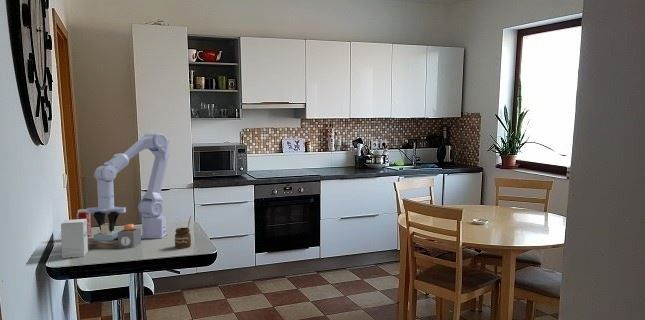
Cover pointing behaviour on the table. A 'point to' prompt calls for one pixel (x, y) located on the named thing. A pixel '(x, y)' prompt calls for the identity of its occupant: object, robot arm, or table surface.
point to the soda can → (84, 215)
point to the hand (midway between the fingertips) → (107, 231)
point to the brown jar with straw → (183, 237)
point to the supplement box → (74, 238)
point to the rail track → (102, 243)
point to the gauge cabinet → (129, 238)
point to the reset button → (129, 227)
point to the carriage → (106, 234)
